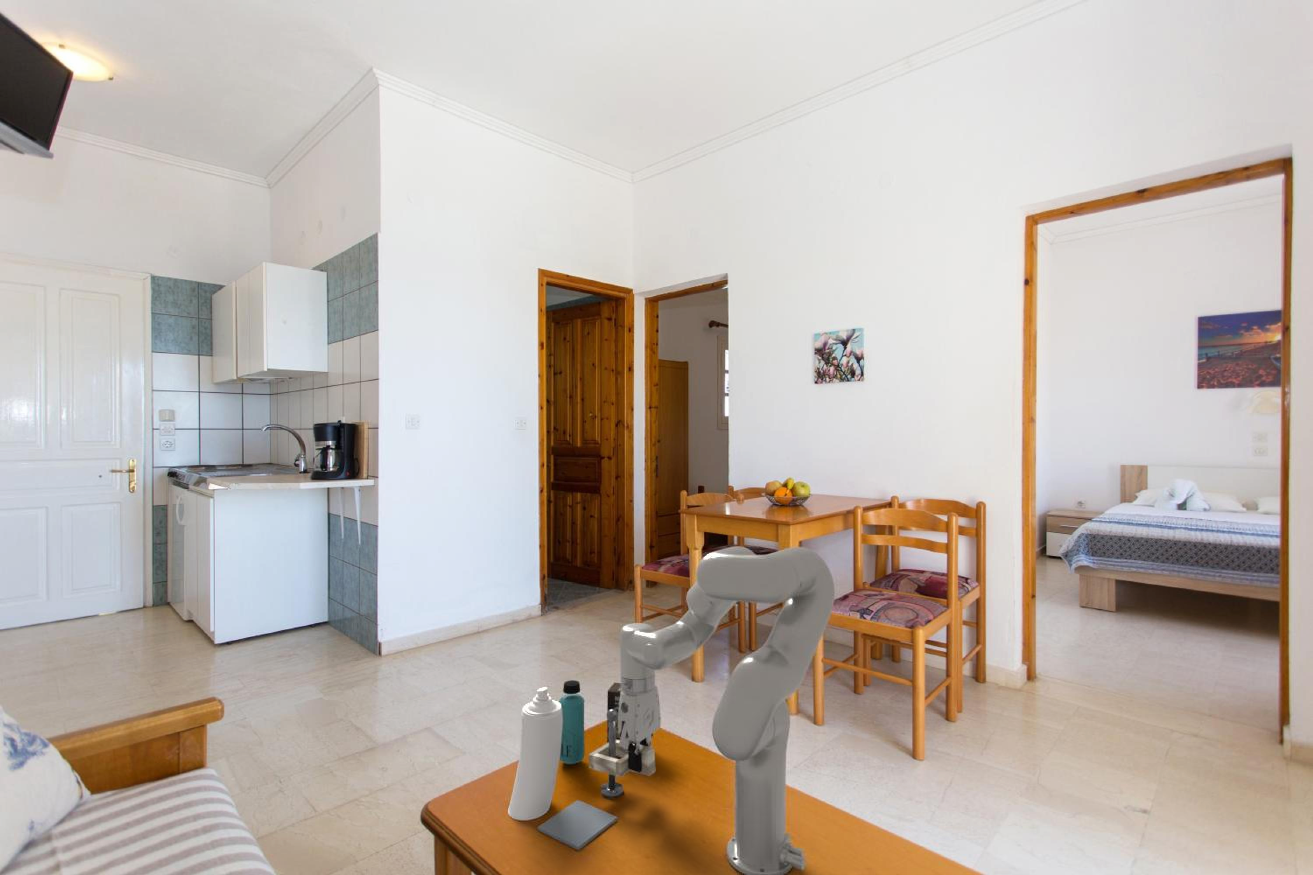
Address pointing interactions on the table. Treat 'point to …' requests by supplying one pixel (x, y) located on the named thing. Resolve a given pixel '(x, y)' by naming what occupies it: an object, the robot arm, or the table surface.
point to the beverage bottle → (572, 724)
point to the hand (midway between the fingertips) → (639, 766)
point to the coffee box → (614, 705)
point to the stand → (612, 787)
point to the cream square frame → (621, 760)
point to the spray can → (537, 757)
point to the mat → (577, 824)
